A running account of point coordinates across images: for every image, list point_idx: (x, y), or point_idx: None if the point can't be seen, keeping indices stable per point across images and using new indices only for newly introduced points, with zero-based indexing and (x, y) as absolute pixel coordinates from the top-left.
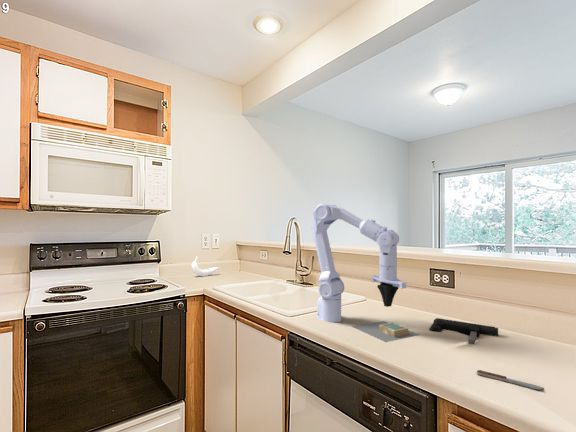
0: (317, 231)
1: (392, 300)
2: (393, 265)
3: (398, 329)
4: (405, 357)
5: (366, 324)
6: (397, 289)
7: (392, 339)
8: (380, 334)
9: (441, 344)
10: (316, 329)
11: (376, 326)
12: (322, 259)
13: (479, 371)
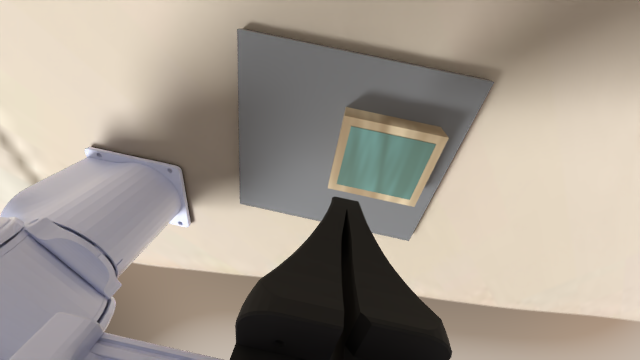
0: None
1: (367, 227)
2: None
3: (418, 182)
4: (493, 267)
5: (246, 148)
6: (428, 313)
7: (415, 213)
8: (358, 201)
9: (606, 91)
10: (208, 259)
11: (286, 139)
12: None
13: None
